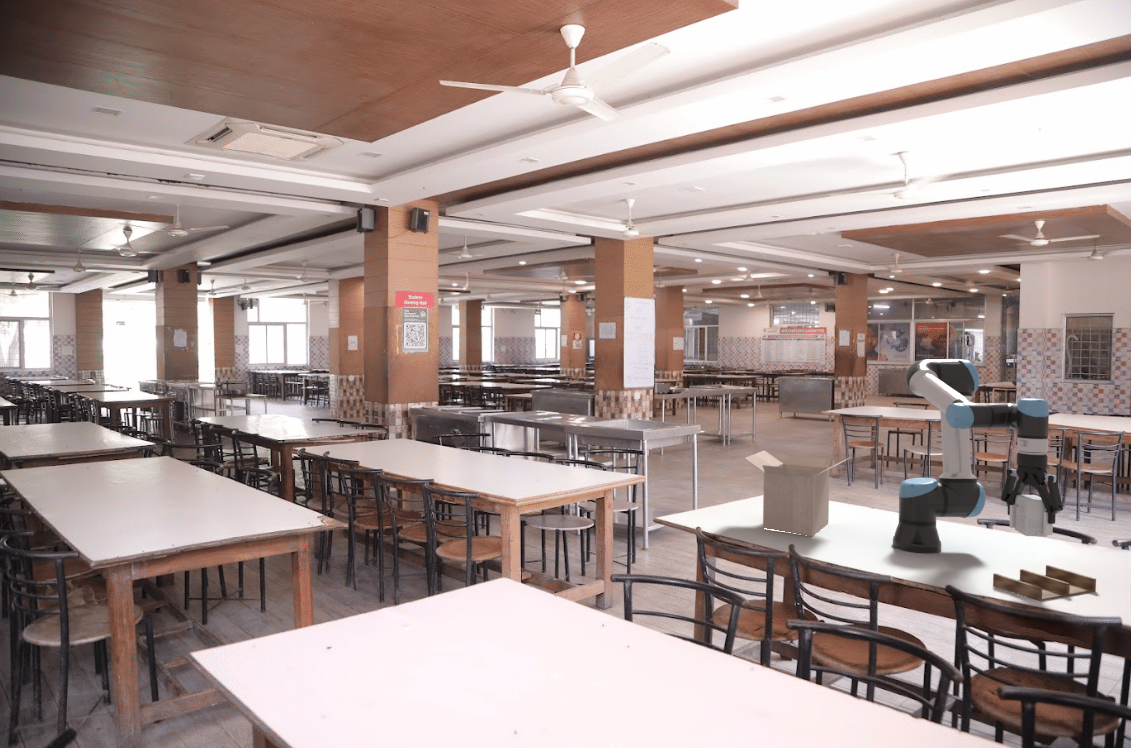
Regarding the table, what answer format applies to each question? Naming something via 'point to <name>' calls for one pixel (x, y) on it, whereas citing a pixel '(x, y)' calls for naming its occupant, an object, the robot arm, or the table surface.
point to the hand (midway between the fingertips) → (1030, 530)
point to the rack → (1046, 584)
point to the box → (794, 492)
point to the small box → (1029, 515)
